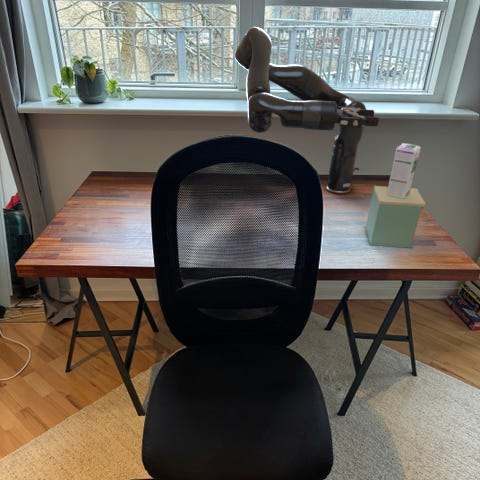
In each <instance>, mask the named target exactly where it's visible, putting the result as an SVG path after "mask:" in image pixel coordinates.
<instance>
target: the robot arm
mask: <svg viewBox="0 0 480 480" xmlns="http://www.w3.org/2000/svg"><path fill="white" fill-rule="evenodd" d="M272 49H273V43H272V40H271V38H270V36H269V34H268V33H267V32H266V31H265V30H264V29H262V28H260V27H257V26H253V27H250V28H249V29H248V30H247V31H246V33H244V36H243V38H242V39H241V42H240V43H239V45H238V46H237V47H236V50H235V51H234V59H235V61H236V62H237V63H238V64H239V66H241V67H242V68H244V69H245V70H247V75H246V83H245V88H246V89H245V90H246V99H247V121H248V122H247V123H248V126H249V128H250V129H251V130H252V131H253V132H255V133H259V134H262V133H265V132H267V131H268V130H269V129H271V127H272V124H273V114H274V115H277V116H278V117H279V119H280V124H281V126H282V127H283V128H289V129H290V128H291V129H304V130H314V131H333V130H334V128H335V125H336V124H339V127H340V128H339V133H338V134H337V135H335V136H334V139H333V144H332V151H331V152H332V153H331V158H330V165H329V171H328V177H327V184H326V190H327V191H328V192H330V193H333V194H339V195H344V194H349V193H350V192H351V189H352V183H353V178H354V177H353V176H354V173H355V171H356V170H357V171H360V168H359V167H355V166H356V160H357V154H358V149H359V144H360V142H361V140H362V137H363V134H364V130H365V127H377V126H378V125H379V121H380V118H379V117H378V116H375V110H374V109H367V108H366V105H365V103H363V101H360V100H358V99H356V98H354V97H351V96H349V95H347V94H344V93H342V92H340V91H337V90H336V89H334V88H333V87H332V86H330V84H328V82H327V81H325V80H324V78H322V77H321V76H320V75H319V74H318V73H316V72H314V71H313V70H312V69H310V68H309V67H307V66H305V65H302V64H281V65H279V64H274V63H271V56H272ZM270 82H271V83H273V84H275V85H277V86H278V87H280V88H282V89H283V90H285V91H287V92H288V93H289V94H291V95H292V96H294V97H296V98H297V99H299V100H289V99H286V98H283V97H279V96H277V95H273V94H272V93H271V85H270Z"/></svg>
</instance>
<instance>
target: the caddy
mask: <svg viewBox="0 0 480 480" xmlns="http://www.w3.org/2000/svg"><path fill="white" fill-rule="evenodd" d="M422 210H423V206H409V205H394V204H380V203H379V200H378V198H377V195H376V192H375V190H374V189H373V191H372V195H371V201H370V205H369V208H368V213H367V214H368V215H367V219H366V224H365V231H366V233H367V238H368V241H369V244H370V246H380V247H394V248H395V247H396V248H410V249H411V248H412V245H413V241H414V238H415V234H416V230H417V227H418V223H419V220H420V216H421V213H422Z"/></svg>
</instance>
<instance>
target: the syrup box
mask: <svg viewBox="0 0 480 480" xmlns="http://www.w3.org/2000/svg"><path fill="white" fill-rule="evenodd" d="M421 148H422V147H421V145H418V144H414V143H403V142H402V143H401V144H400V145H398V146H397V147H396V148H395V152H394V159H393V162H392V167H391V171H390V176H389V181H388V186H387V187H388V190H387V195H388V196H392V197H396V198H401V199H405V198H406V197H407V196H408V194H409V193H410V190H411V188H412V186H413V181H414V177H415V174H416V169H417V164H418V161H419V156H420V152H421Z"/></svg>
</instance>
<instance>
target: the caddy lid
mask: <svg viewBox="0 0 480 480" xmlns="http://www.w3.org/2000/svg"><path fill="white" fill-rule="evenodd" d="M373 190H375V192H376V195H377V198H378V200H379V203H380V204H394V205H409V206H422V207H425V208H426V202H425V200H424V198H423V197H422V195H421V193H420V192H419V190H418V188H416V187H415V188H414V187H411V190H410V193H409V194H408V196H407V197H406V198H405V199H401V198H396V197H392V196H388V195H387V190H388V186H385V185H384V186H383V185H382V186H381V185H374V186H373Z"/></svg>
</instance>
